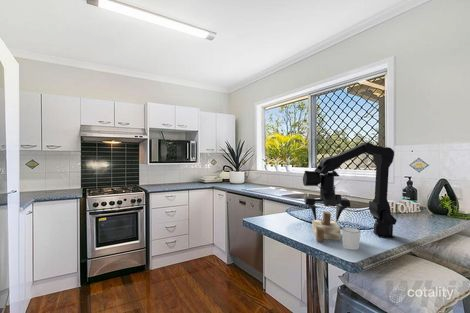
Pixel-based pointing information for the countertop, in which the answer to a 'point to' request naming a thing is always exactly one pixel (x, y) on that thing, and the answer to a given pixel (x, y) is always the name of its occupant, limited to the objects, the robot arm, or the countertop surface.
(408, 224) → the countertop surface
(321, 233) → the short pin
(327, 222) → the tall pin
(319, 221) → the hole block
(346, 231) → the white cylinder
